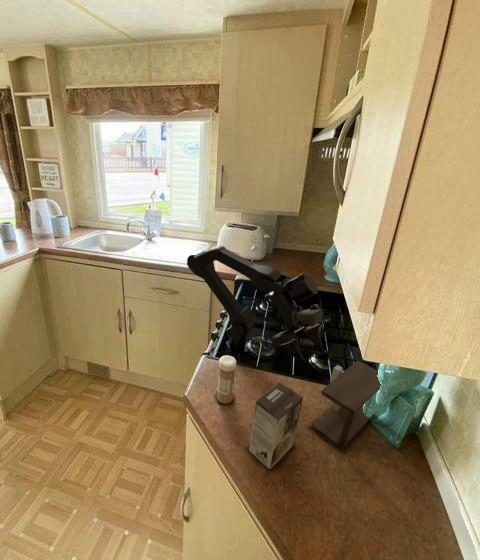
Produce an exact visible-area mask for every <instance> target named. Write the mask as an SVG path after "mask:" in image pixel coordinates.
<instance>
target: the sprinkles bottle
mask: <svg viewBox="0 0 480 560" xmlns="http://www.w3.org/2000/svg"><path fill="white" fill-rule="evenodd" d="M218 366H219V367H218V368H219V369H218V377H217V379H218V380H217V394H216V398H217V400H218V402H220V403H222V404H230V403H232V401H233V399H234V388H235V374H236V369H237V360H236V358H235V357H234V356H231V355H222V356H221V357H220V358H219V360H218Z"/></svg>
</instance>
